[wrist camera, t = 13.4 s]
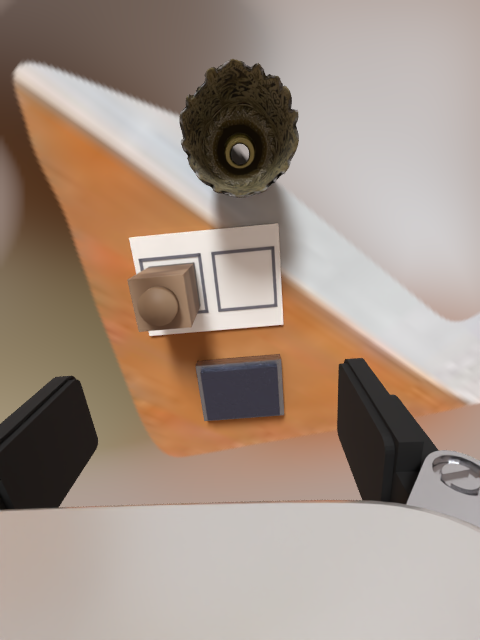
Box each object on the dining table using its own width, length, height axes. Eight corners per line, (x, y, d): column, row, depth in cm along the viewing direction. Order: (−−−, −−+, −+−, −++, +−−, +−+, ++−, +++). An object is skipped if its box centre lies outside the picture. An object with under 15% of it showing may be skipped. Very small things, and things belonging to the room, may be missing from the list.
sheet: (278, 223, 28) (278, 223, 28) (282, 323, 32) (283, 324, 31) (130, 237, 29) (128, 237, 28) (150, 334, 32) (149, 336, 32)
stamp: (194, 262, 29) (180, 277, 23) (200, 305, 31) (189, 331, 24) (149, 266, 29) (122, 282, 23) (157, 309, 31) (135, 336, 24)
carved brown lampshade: (245, 81, 25) (248, 24, 17) (299, 159, 27) (323, 139, 19) (179, 148, 26) (154, 124, 19) (234, 217, 28) (232, 220, 21)
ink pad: (279, 354, 33) (281, 361, 31) (282, 408, 35) (284, 418, 34) (197, 360, 33) (194, 369, 31) (205, 414, 36) (203, 424, 34)
